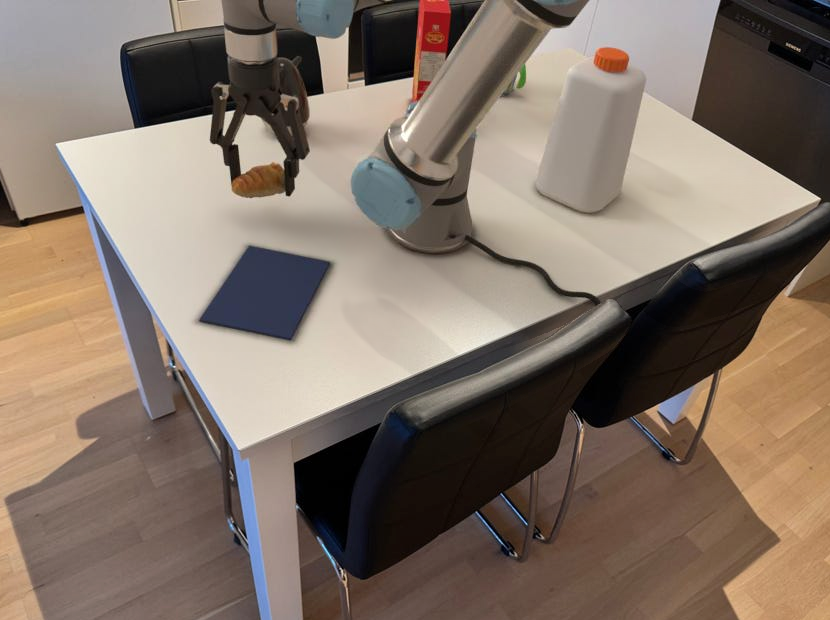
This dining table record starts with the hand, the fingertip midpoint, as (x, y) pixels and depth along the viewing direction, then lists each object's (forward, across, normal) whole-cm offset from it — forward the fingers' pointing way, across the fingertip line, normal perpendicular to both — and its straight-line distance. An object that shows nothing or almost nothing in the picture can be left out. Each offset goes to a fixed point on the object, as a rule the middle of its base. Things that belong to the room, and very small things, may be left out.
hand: (263, 187), depth 127 cm
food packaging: (+6, -18, -51) cm, 55 cm away
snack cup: (+6, -32, -72) cm, 79 cm away
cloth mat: (+6, -8, +19) cm, 22 cm away
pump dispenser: (+6, +8, -32) cm, 33 cm away
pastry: (+1, 0, 0) cm, 1 cm away
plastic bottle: (+7, -54, -30) cm, 63 cm away
